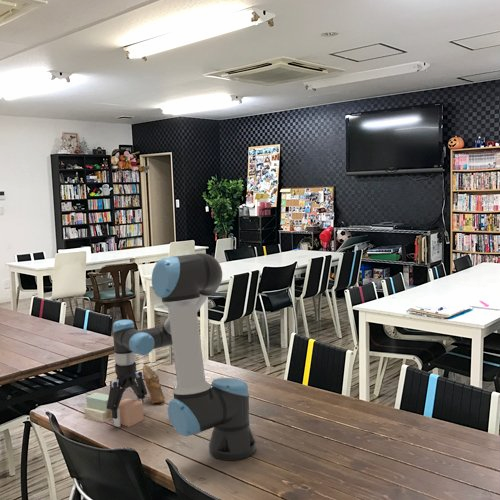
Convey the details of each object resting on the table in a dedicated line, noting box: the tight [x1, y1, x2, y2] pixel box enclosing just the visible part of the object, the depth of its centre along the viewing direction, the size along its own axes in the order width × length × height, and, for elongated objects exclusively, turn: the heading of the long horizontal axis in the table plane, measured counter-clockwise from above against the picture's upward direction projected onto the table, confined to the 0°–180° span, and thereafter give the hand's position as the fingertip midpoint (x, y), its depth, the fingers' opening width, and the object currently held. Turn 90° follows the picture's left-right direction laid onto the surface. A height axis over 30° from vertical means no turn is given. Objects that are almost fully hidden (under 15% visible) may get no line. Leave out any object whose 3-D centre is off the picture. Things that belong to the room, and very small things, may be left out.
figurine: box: [142, 364, 166, 404], centre depth 230 cm, size 8×8×15 cm
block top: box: [86, 392, 110, 411], centre depth 217 cm, size 5×10×4 cm, turn 60°
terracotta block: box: [118, 397, 145, 428], centre depth 212 cm, size 7×8×7 cm
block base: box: [83, 406, 113, 424], centre depth 218 cm, size 8×10×4 cm
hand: (128, 420), depth 212 cm, fingers open, 10 cm apart
